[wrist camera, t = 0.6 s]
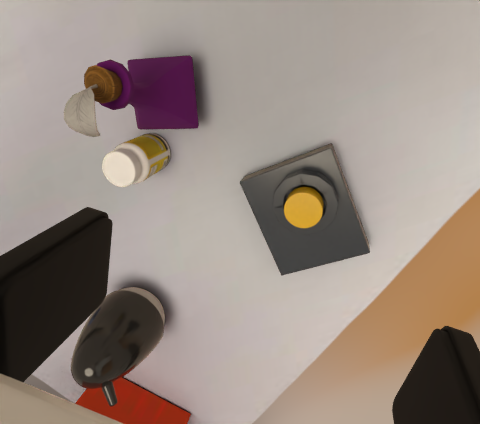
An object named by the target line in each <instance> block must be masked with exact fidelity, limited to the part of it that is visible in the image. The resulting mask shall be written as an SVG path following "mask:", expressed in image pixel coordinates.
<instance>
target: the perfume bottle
mask: <svg viewBox="0 0 480 424" xmlns="http://www.w3.org/2000/svg"><path fill="white" fill-rule="evenodd" d="M128 69H129V71H128V70H127V69H126V68H125V67H124V66H123V64H120V63H118V62H115V61H112V60H107V61H104V62H100V63H98V64H97V65H95V66H91V67H89V68H88V69H87V71H86V73H85V74H84V84H85V87H86V89H85V90H83V91H81V92H79V93H76V94H74V95H73V96H72V97H71V98H70V100H69V101H68V102H67V103H66V106H65V109H64V120H65V122H66V123H67V125H68V126H69V127H70V128H71V129H73V130H74V131H76V132H79V133H82V134H84V135H87V136H92V137H96V136H100V134H99V132H98V130H97V126H96V117H95V101H97V102H99V103H100V104H101V105H102V106H105V107H107V108H110V109H112V110H116V109H121V108H125V107H126V106H127V104H128V103H129V104H131V105H132V106H133V107H134V108H135V114H136V121H137V127H138V129H191V128H198V126H199V124H198V114H197V103H196V93H195V82H194V72H193V61H192V57H191V56H176V57H161V58H147V59H133V60H128Z"/></svg>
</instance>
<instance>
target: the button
mask: <svg viewBox="0 0 480 424" xmlns="http://www.w3.org/2000/svg"><path fill="white" fill-rule="evenodd" d="M323 206H324V203H323V199H322V196H321V195H320V194H319V192H317V191H316V190H315V189H313V188H310V187H299V188H296V189H294V190H293V191H292V192H291V193H290V194H289V196H288V198H287V200H286V202H285V205H284V214H285V217H286V219H287V220H288V221H289V222H290V223H291V224H292V225H294V226H296V227H299V228H309V227H312V226H314V225H316V224H317V223H318V222H319V221H320V219H321V217H322V213H323Z"/></svg>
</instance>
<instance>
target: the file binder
mask: <svg viewBox="0 0 480 424" xmlns="http://www.w3.org/2000/svg"><path fill="white" fill-rule="evenodd" d="M113 386H114V389H115V393H116V397H117V401H118V402H117V404H116V405H114V406H112V407H110V406H109V404H108V402H107V400H106V398H105V395H104V393H103V391H102V389H101V388H96V389H86V390H85V392H84V393H83V394H82V395H81V397H80V398H79V399H78V401H77V402H76V403H75V404H77V405H79V406H82V407H84V408H87V409H89V410H92V411H94V412H96V413H99V414H101V415H104V416H106V417H109V418H111V419H114V420H116V421H118V422H121V423H123V424H187V422H188V420H189V418H190V415H191V414H190V413H188V412H186V411H184V410H182V409H180V408H178V407H177V406H175V405H173V404H171V403H169V402H167V401H165V400H163V399H161V398H160V397H158V396H156V395H154V394H152V393H150V392H148V391H146V390H144V389H143V388H141V387H139V386H137V385H135V384H133V383H131V382H129V381H127V380H126V379H124V378H122V377H121V378H120V379H118V380H116V381H114V382H113Z"/></svg>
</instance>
